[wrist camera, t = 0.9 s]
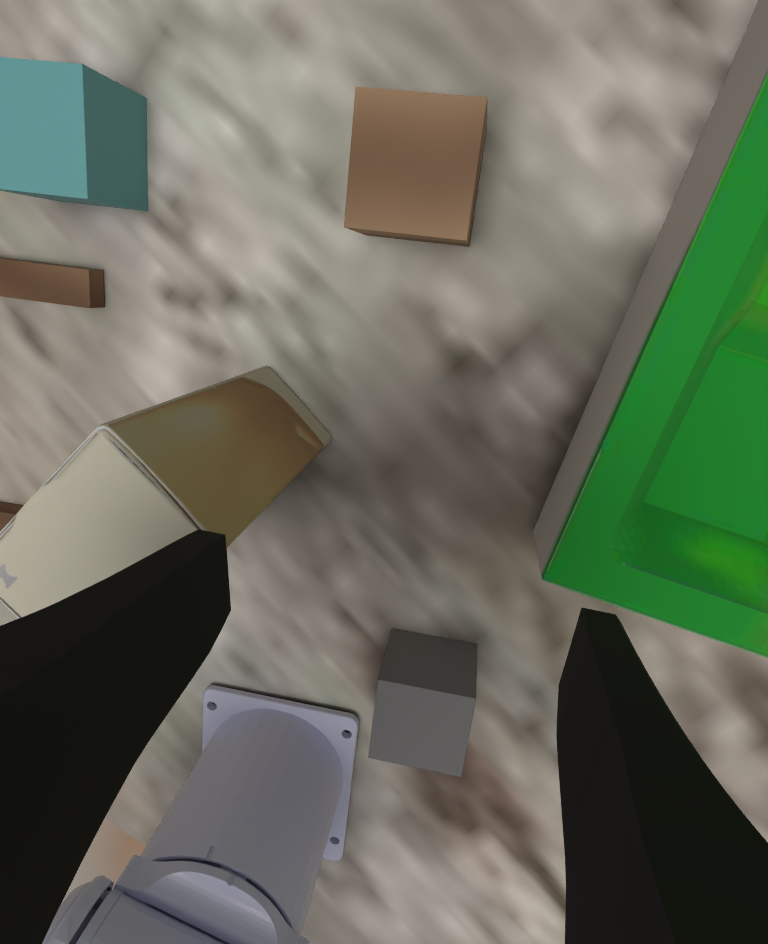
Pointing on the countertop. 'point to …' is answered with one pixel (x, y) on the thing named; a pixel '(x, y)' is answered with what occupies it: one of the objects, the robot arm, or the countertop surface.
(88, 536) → the skincare box
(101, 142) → the teal block
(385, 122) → the walnut block
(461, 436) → the countertop surface
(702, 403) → the tray
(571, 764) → the robot arm
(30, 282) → the frame
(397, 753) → the charcoal block
